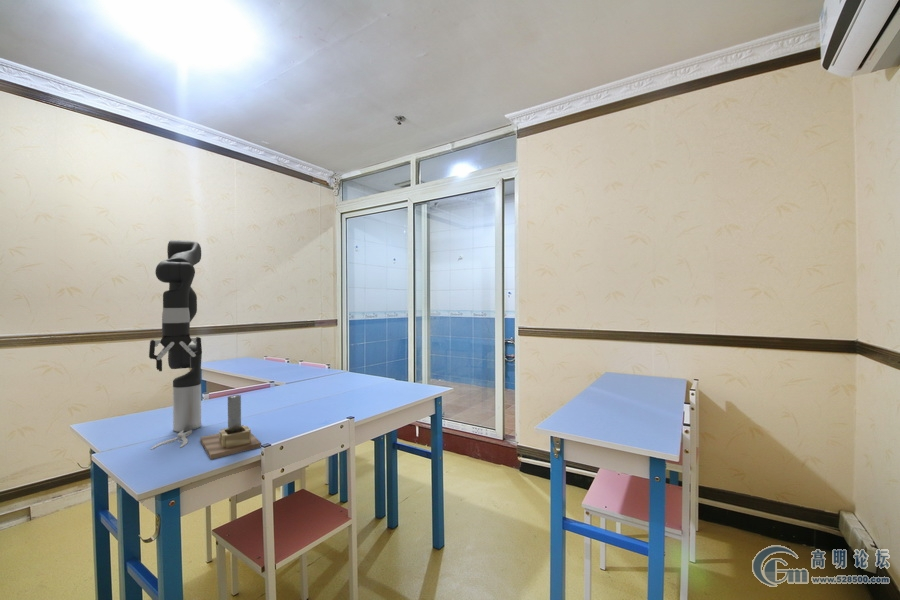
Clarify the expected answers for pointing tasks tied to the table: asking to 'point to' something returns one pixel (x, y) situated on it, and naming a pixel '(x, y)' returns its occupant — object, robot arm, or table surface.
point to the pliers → (180, 435)
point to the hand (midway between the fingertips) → (176, 369)
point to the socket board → (229, 442)
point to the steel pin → (234, 414)
